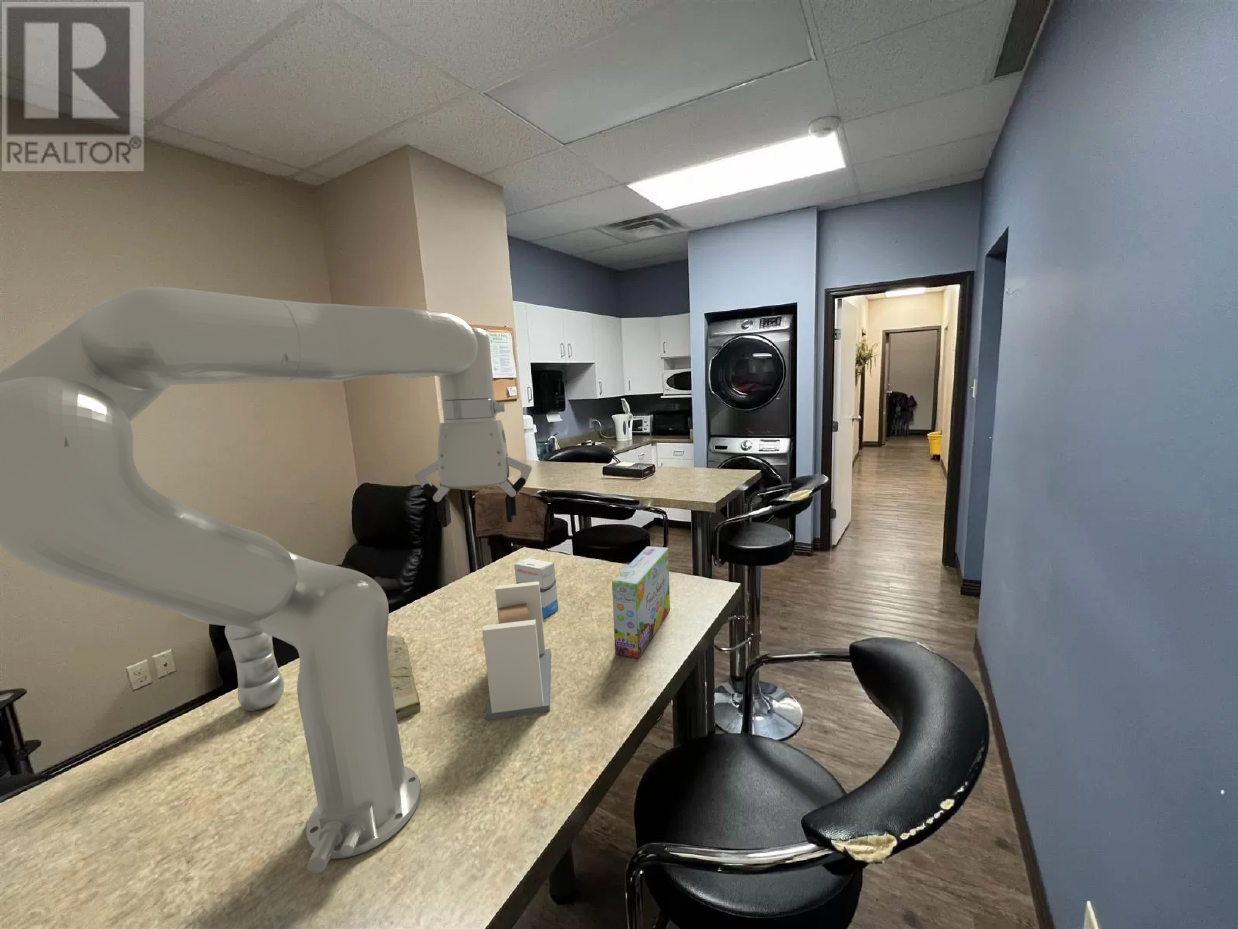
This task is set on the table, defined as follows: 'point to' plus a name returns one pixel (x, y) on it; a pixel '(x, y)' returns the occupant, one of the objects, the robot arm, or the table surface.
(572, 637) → the table surface
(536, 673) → the stand
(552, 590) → the ink box
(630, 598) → the snack box
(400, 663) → the stone slab
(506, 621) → the brown wooden block
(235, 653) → the plastic bottle
